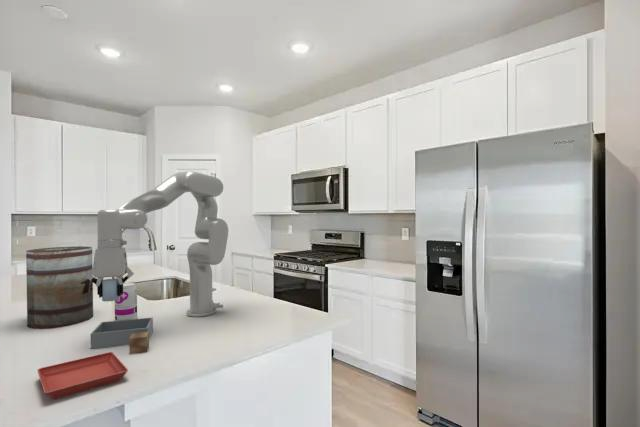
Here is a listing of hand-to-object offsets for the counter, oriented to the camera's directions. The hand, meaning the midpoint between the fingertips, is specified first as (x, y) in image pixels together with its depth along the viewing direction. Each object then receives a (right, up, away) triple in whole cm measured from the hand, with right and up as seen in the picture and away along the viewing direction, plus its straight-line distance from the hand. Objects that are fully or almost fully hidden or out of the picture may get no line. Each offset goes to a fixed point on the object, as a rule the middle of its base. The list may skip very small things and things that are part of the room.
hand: (110, 295), depth 126 cm
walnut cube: (+15, -16, -9) cm, 23 cm away
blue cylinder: (0, -1, 0) cm, 1 cm away
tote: (+4, -16, +1) cm, 16 cm away
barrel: (-35, -16, +24) cm, 46 cm away
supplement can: (-8, -16, +24) cm, 30 cm away
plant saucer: (+10, -17, -29) cm, 35 cm away
